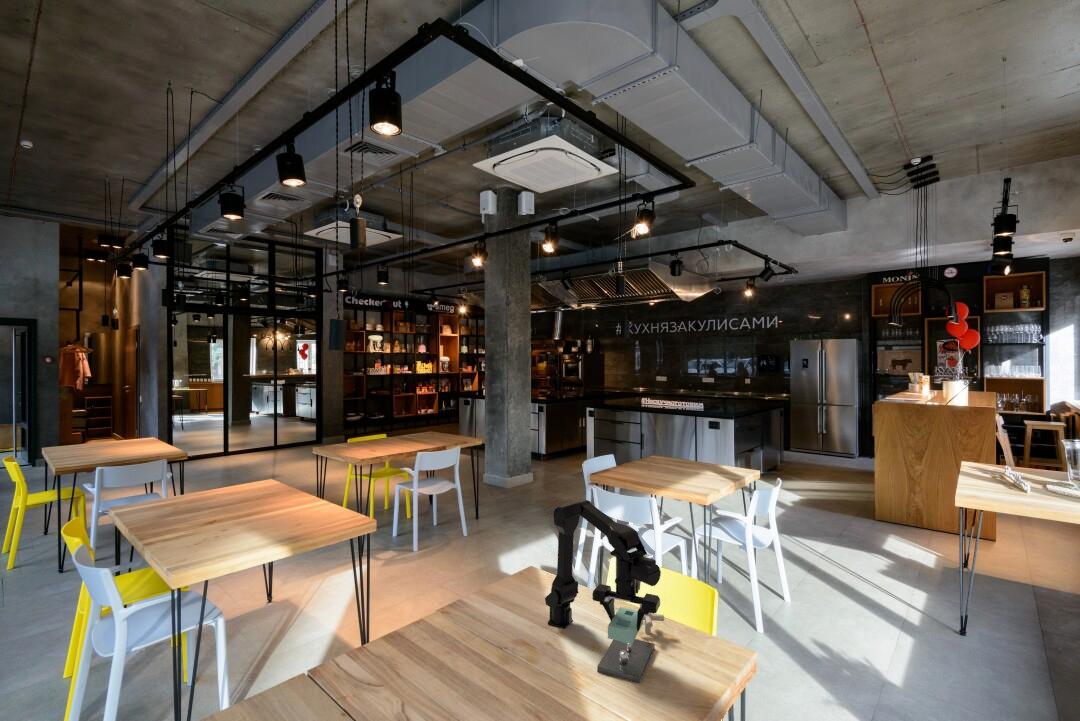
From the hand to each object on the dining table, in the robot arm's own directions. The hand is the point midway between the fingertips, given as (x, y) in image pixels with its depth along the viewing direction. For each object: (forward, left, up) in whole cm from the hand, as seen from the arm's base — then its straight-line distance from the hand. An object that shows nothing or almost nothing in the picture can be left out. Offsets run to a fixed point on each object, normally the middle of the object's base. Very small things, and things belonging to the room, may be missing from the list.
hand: (625, 627), depth 147 cm
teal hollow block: (0, 0, -1) cm, 1 cm away
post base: (0, +1, -10) cm, 10 cm away
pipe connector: (+2, +18, -10) cm, 21 cm away
